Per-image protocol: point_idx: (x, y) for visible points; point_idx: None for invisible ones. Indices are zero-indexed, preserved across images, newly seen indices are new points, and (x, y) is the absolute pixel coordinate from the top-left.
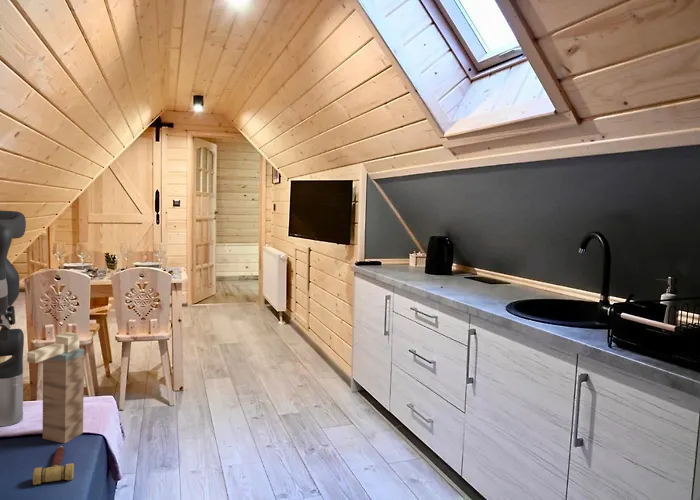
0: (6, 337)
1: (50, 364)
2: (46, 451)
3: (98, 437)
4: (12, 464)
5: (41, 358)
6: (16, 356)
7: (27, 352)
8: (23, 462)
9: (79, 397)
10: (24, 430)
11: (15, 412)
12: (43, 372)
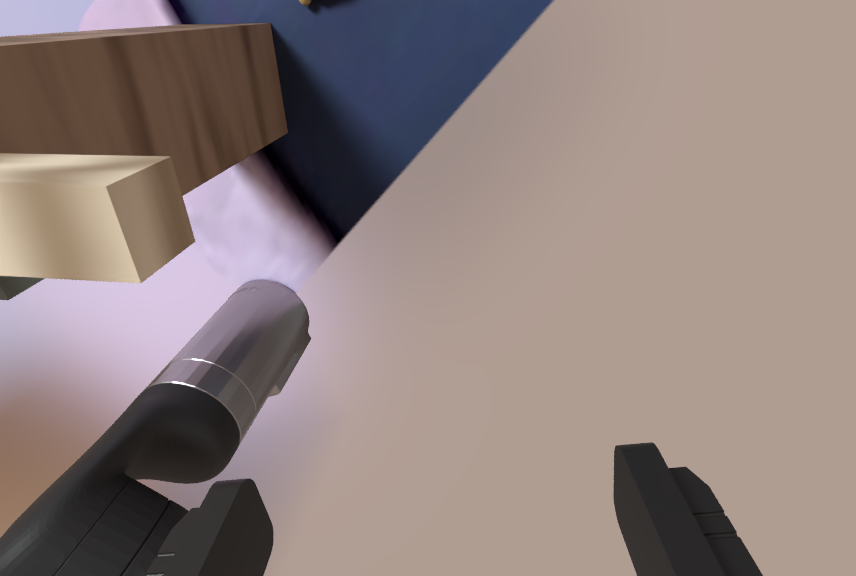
0: (232, 525)
1: None
2: (342, 41)
3: None
4: (455, 80)
5: (86, 161)
6: (121, 452)
7: (139, 281)
8: (431, 54)
9: (86, 32)
10: (283, 227)
11: (255, 300)
12: None
